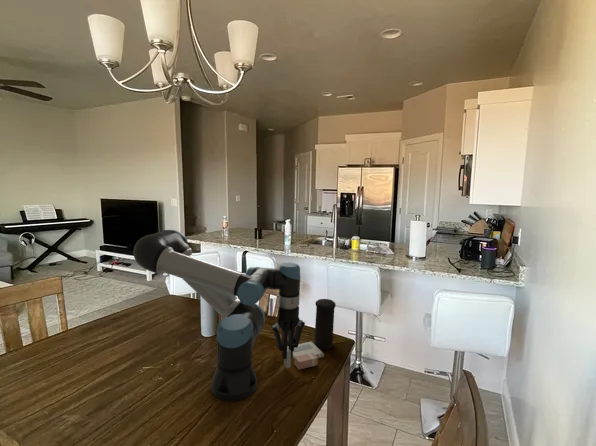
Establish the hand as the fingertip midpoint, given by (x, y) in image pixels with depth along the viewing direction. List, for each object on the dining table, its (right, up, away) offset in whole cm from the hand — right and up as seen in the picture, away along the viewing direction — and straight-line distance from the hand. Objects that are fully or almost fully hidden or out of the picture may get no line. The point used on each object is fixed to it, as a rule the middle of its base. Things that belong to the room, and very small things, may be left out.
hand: (287, 365), depth 120 cm
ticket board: (+7, 0, +12) cm, 14 cm away
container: (+15, 0, +19) cm, 25 cm away
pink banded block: (+7, -1, +4) cm, 8 cm away
